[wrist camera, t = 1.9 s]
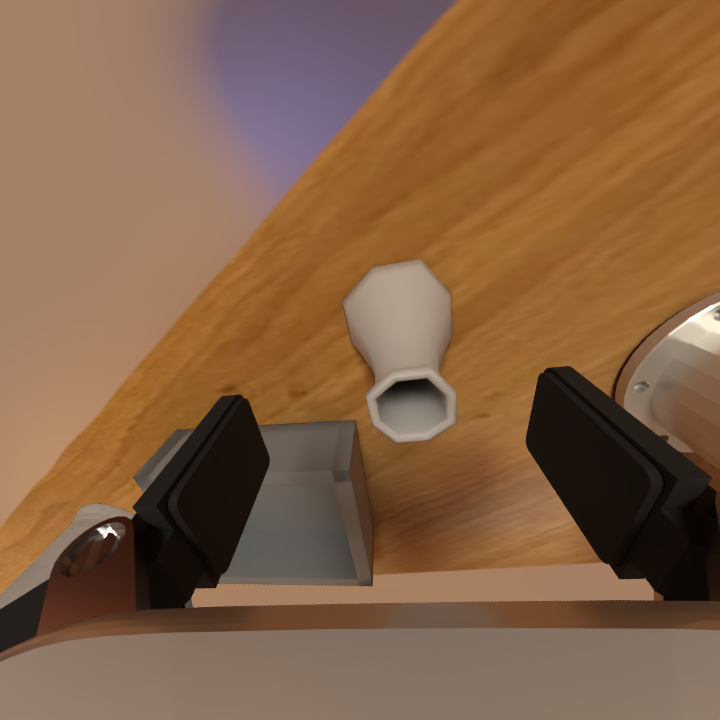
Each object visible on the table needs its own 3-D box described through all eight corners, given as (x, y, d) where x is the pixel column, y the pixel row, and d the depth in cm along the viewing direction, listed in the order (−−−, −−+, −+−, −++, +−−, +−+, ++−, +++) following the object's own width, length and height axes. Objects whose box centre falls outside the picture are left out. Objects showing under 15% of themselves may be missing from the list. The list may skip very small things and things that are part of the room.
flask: (374, 378, 21) (369, 498, 12) (323, 293, 18) (269, 370, 9) (469, 338, 19) (544, 447, 10) (428, 236, 16) (482, 265, 7)
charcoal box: (355, 420, 23) (349, 469, 19) (373, 530, 30) (372, 586, 25) (176, 429, 25) (132, 476, 20) (233, 531, 32) (208, 583, 27)
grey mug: (99, 493, 30) (-122, 714, 17) (205, 557, 35) (97, 769, 22) (64, 520, 33) (-147, 726, 20) (166, 575, 38) (50, 772, 25)
